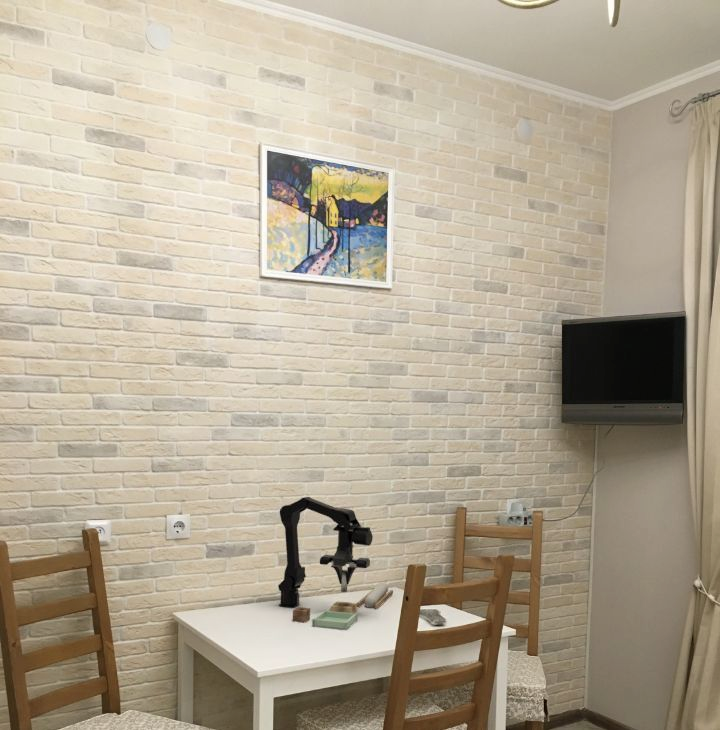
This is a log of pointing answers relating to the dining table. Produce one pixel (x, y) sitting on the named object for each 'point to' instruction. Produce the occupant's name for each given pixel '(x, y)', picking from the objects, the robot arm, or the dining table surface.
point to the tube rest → (378, 601)
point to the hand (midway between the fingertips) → (344, 584)
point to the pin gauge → (344, 580)
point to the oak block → (344, 607)
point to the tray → (334, 620)
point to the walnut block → (301, 614)
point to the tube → (376, 594)
